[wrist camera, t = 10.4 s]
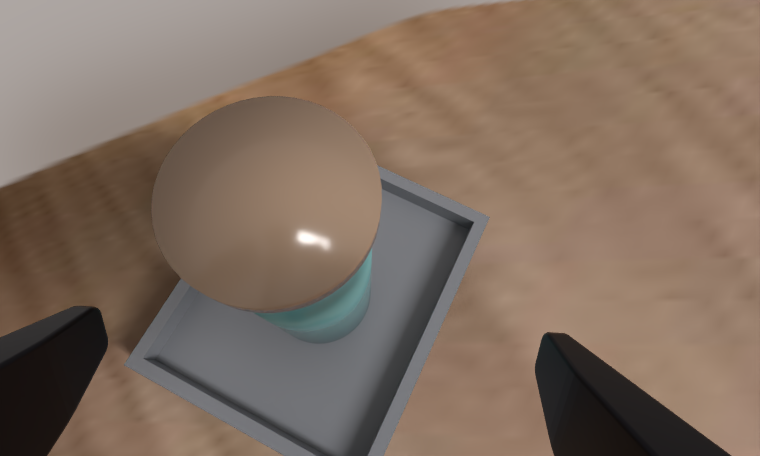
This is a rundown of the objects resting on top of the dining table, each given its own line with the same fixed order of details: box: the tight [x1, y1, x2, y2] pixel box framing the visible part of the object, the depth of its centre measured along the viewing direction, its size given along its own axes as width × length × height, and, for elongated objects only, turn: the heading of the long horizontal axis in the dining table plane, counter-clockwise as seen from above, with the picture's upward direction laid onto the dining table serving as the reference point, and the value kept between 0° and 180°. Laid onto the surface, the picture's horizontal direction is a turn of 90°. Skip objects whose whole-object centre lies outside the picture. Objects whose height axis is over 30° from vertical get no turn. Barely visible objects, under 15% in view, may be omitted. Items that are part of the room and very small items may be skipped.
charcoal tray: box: [124, 165, 490, 456], centre depth 22 cm, size 14×12×2 cm
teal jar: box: [151, 96, 382, 344], centre depth 17 cm, size 5×5×12 cm
